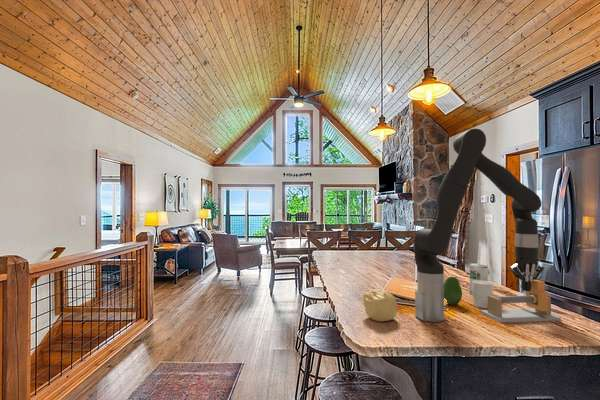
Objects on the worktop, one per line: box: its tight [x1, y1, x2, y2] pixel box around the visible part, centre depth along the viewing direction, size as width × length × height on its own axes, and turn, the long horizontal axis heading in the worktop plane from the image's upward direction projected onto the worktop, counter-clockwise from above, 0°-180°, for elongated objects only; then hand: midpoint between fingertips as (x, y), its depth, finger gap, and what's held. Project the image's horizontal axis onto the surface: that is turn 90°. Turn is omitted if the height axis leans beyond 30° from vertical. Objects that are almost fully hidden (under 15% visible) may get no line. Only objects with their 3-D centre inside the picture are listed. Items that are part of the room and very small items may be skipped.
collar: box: [525, 279, 549, 311], centre depth 125 cm, size 3×7×10 cm, turn 6°
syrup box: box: [468, 262, 489, 295], centre depth 156 cm, size 6×6×14 cm
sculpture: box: [362, 288, 398, 322], centre depth 121 cm, size 12×12×11 cm
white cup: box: [472, 280, 494, 309], centre depth 138 cm, size 8×8×10 cm
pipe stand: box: [479, 295, 562, 323], centre depth 124 cm, size 24×11×8 cm, turn 96°
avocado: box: [444, 276, 463, 306], centre depth 140 cm, size 8×8×12 cm
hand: (526, 290), depth 125 cm, fingers closed
